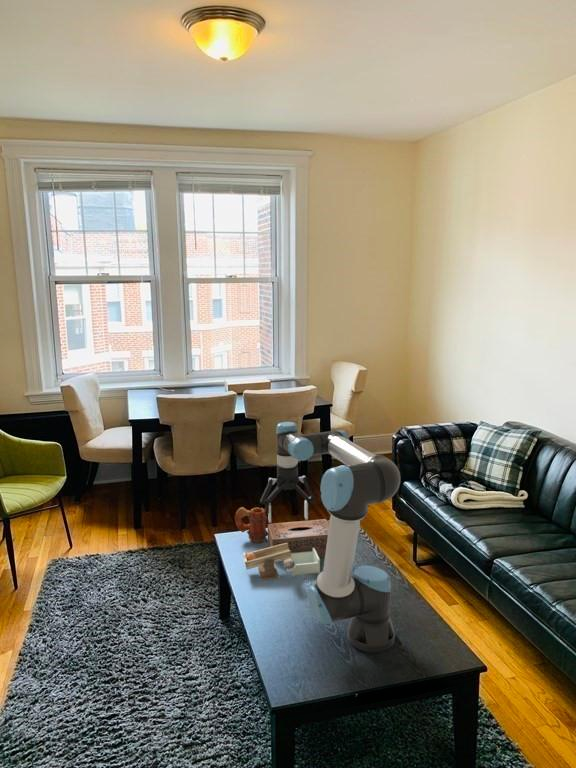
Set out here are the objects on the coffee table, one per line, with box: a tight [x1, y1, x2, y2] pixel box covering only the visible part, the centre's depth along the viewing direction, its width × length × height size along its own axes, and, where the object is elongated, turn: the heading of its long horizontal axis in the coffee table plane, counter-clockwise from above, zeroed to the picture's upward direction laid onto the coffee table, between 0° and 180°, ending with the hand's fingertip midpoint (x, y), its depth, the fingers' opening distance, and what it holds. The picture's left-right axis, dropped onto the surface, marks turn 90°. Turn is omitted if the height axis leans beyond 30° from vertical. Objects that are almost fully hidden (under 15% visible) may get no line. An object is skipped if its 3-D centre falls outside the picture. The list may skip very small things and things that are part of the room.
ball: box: [246, 552, 255, 561], centre depth 219 cm, size 4×4×4 cm
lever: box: [242, 543, 295, 572], centre depth 216 cm, size 16×18×3 cm
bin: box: [290, 548, 321, 577], centre depth 223 cm, size 10×11×6 cm
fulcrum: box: [257, 560, 280, 581], centre depth 220 cm, size 10×7×7 cm
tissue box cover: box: [267, 518, 329, 562], centre depth 237 cm, size 26×14×10 cm, turn 100°
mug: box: [234, 506, 268, 544], centre depth 246 cm, size 15×8×15 cm, turn 84°
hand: (288, 519), depth 207 cm, fingers open, 13 cm apart
